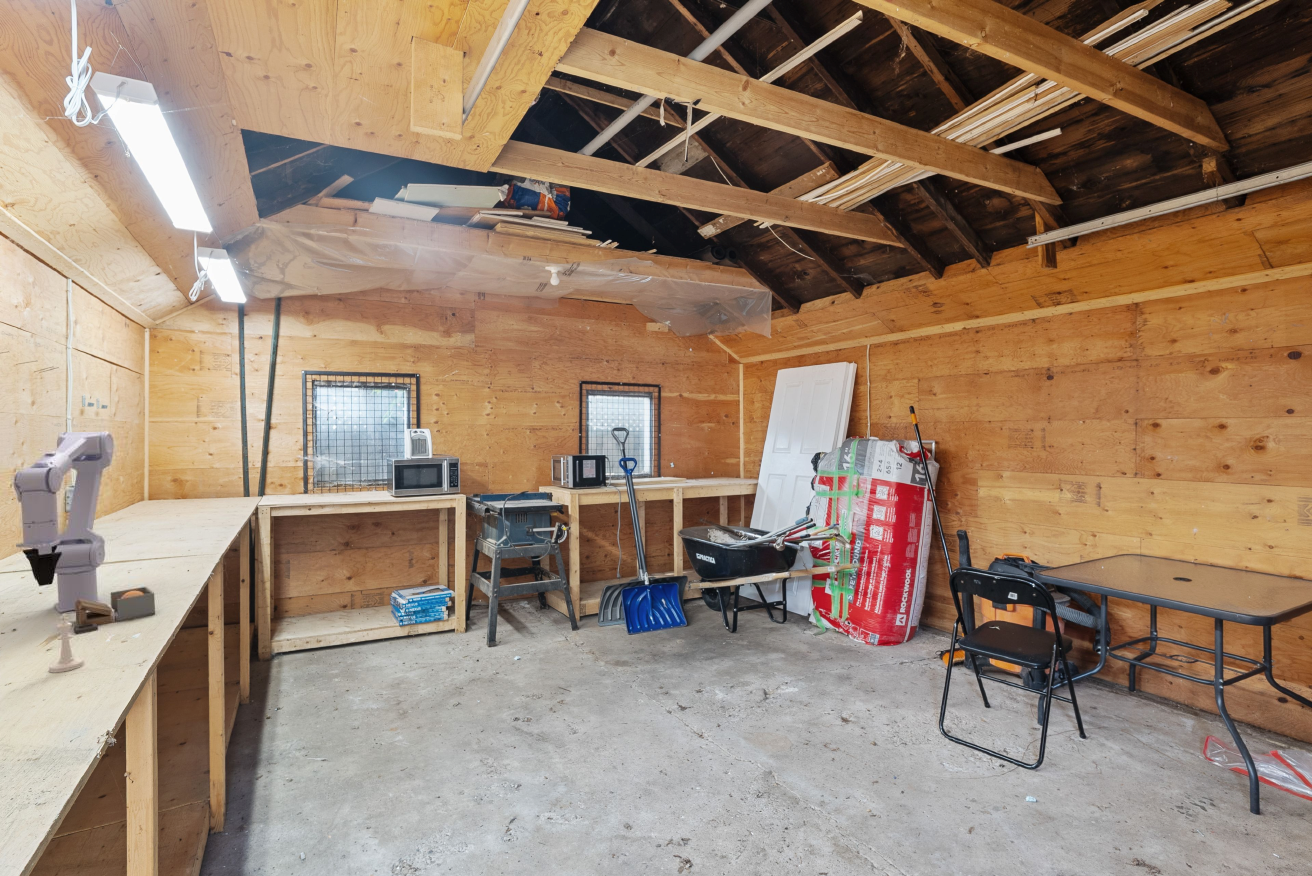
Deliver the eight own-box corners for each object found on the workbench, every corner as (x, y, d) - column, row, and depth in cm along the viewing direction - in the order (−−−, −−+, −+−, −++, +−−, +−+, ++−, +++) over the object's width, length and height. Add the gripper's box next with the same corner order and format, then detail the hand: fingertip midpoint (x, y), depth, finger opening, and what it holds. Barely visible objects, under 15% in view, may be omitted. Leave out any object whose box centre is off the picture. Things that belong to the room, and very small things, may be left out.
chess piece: (62, 673, 117) (59, 619, 117) (41, 671, 118) (38, 617, 118) (91, 662, 122) (88, 610, 122) (70, 661, 123) (67, 609, 123)
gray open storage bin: (109, 613, 152) (108, 592, 152) (147, 606, 157) (146, 586, 157) (116, 621, 146) (115, 599, 146) (155, 614, 152) (154, 593, 151)
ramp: (76, 620, 147) (74, 598, 147) (108, 614, 152) (107, 593, 152) (81, 628, 142) (79, 605, 142) (114, 621, 146) (113, 599, 146)
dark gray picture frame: (73, 630, 141) (73, 626, 141) (95, 626, 143) (95, 622, 143) (76, 634, 138) (75, 630, 138) (98, 629, 141) (97, 626, 141)
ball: (133, 584, 154) (111, 600, 151) (136, 588, 150) (115, 604, 148) (149, 598, 156) (128, 614, 153) (153, 602, 153) (132, 618, 150)
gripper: (12, 520, 145) (15, 580, 146) (17, 527, 135) (21, 591, 136) (55, 516, 150) (58, 573, 151) (63, 523, 141) (66, 584, 141)
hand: (43, 581), depth 144 cm, fingers open, 7 cm apart
